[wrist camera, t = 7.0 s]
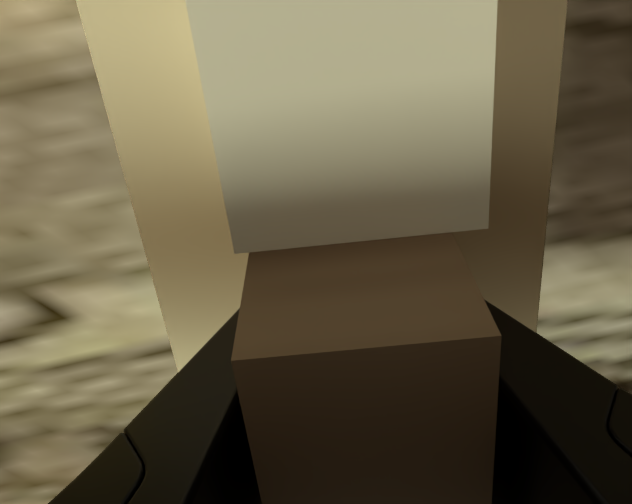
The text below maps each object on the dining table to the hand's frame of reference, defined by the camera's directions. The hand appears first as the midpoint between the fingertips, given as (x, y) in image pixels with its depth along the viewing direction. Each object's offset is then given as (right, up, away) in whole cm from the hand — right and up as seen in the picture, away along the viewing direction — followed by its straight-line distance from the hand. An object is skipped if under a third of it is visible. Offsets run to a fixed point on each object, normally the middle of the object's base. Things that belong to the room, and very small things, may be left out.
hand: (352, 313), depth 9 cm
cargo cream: (0, +4, 0) cm, 4 cm away
